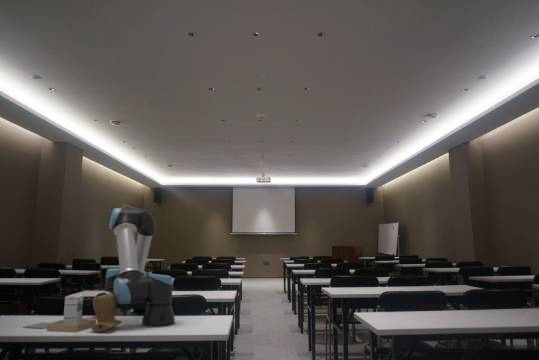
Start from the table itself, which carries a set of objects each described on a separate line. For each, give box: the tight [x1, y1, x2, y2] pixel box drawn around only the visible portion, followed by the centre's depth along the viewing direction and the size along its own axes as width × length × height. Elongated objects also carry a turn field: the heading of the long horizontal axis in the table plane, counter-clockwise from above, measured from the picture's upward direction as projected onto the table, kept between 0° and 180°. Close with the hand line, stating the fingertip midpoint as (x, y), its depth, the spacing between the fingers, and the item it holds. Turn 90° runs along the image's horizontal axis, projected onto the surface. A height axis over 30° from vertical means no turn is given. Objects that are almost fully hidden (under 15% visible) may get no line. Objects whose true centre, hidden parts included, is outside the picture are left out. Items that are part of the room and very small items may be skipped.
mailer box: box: [46, 318, 98, 333], centre depth 179 cm, size 15×26×3 cm, turn 169°
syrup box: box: [63, 294, 84, 325], centre depth 173 cm, size 6×6×14 cm
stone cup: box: [90, 294, 123, 333], centre depth 170 cm, size 15×12×15 cm
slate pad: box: [22, 321, 49, 330], centre depth 177 cm, size 11×11×1 cm
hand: (84, 305), depth 183 cm, fingers open, 13 cm apart
